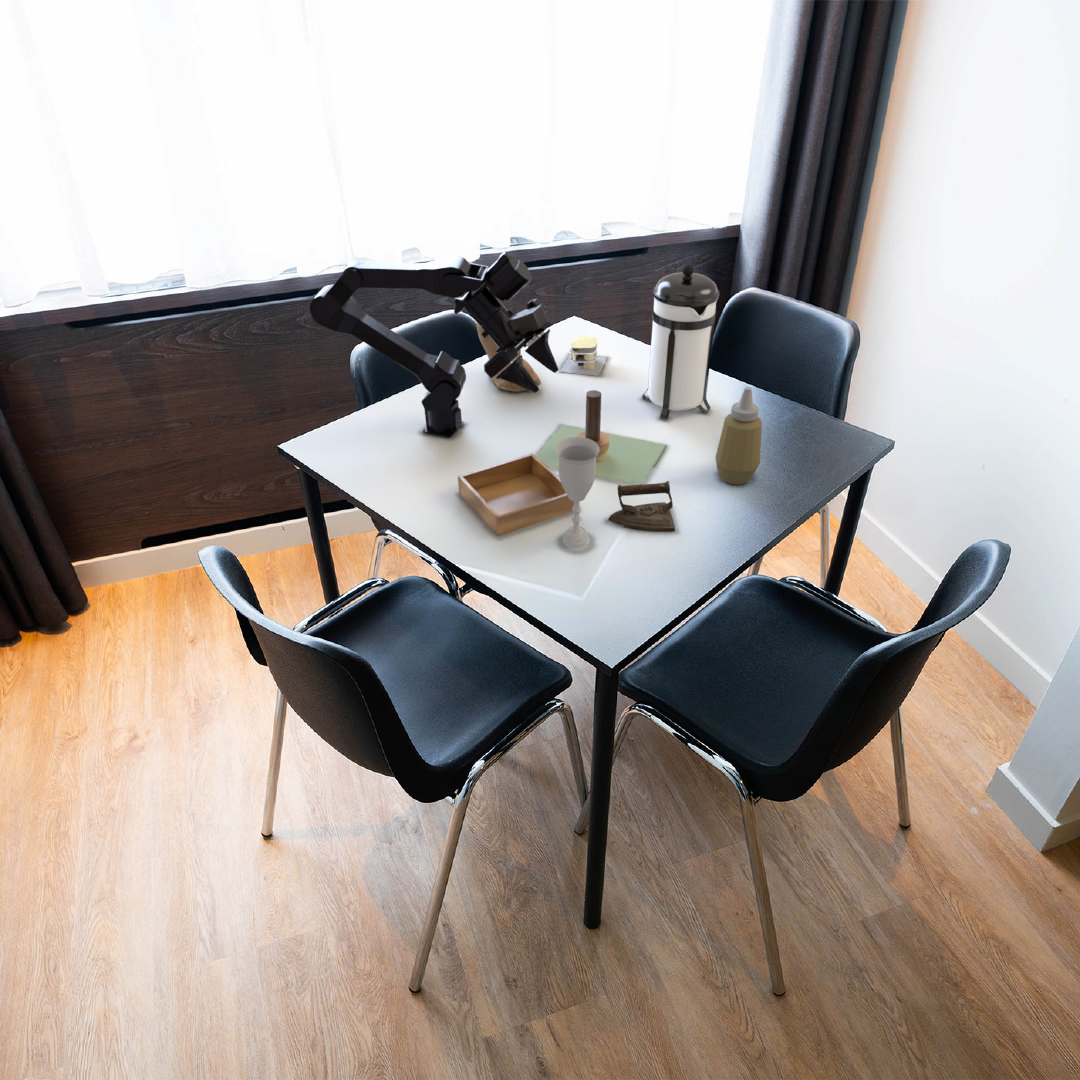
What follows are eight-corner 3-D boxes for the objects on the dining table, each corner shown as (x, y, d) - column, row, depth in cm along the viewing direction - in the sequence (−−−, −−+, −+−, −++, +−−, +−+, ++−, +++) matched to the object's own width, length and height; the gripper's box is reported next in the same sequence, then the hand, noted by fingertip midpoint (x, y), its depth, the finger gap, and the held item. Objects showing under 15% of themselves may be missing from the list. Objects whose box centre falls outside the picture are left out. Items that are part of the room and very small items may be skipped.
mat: (530, 464, 161) (530, 462, 160) (561, 426, 172) (561, 424, 172) (641, 487, 154) (641, 485, 153) (665, 446, 165) (665, 444, 165)
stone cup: (475, 369, 194) (471, 307, 185) (525, 363, 197) (523, 301, 188) (489, 399, 182) (486, 333, 174) (542, 391, 185) (541, 326, 176)
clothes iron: (679, 533, 143) (671, 489, 136) (614, 547, 144) (602, 504, 138) (672, 507, 148) (664, 463, 141) (609, 520, 150) (598, 477, 143)
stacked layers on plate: (570, 354, 201) (570, 332, 197) (607, 357, 199) (608, 335, 195) (560, 371, 193) (560, 349, 190) (598, 376, 191) (599, 353, 188)
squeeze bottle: (760, 469, 158) (774, 381, 147) (754, 492, 152) (769, 402, 141) (716, 462, 160) (728, 375, 150) (709, 484, 154) (720, 395, 143)
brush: (580, 465, 159) (581, 403, 152) (571, 448, 164) (572, 388, 157) (613, 460, 160) (615, 399, 153) (603, 444, 165) (605, 384, 158)
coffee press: (724, 398, 182) (742, 258, 164) (693, 429, 171) (709, 283, 153) (651, 379, 189) (661, 244, 171) (617, 408, 178) (624, 267, 160)
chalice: (553, 530, 143) (553, 438, 132) (593, 528, 144) (596, 435, 133) (558, 556, 137) (558, 462, 127) (599, 554, 138) (603, 459, 127)
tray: (459, 494, 152) (457, 475, 150) (533, 471, 159) (532, 453, 156) (498, 538, 142) (497, 518, 139) (576, 511, 148) (576, 492, 145)
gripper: (496, 308, 144) (556, 379, 147) (540, 274, 158) (594, 339, 161) (459, 344, 151) (516, 411, 154) (504, 308, 165) (555, 370, 168)
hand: (547, 381), depth 159 cm, fingers open, 9 cm apart
